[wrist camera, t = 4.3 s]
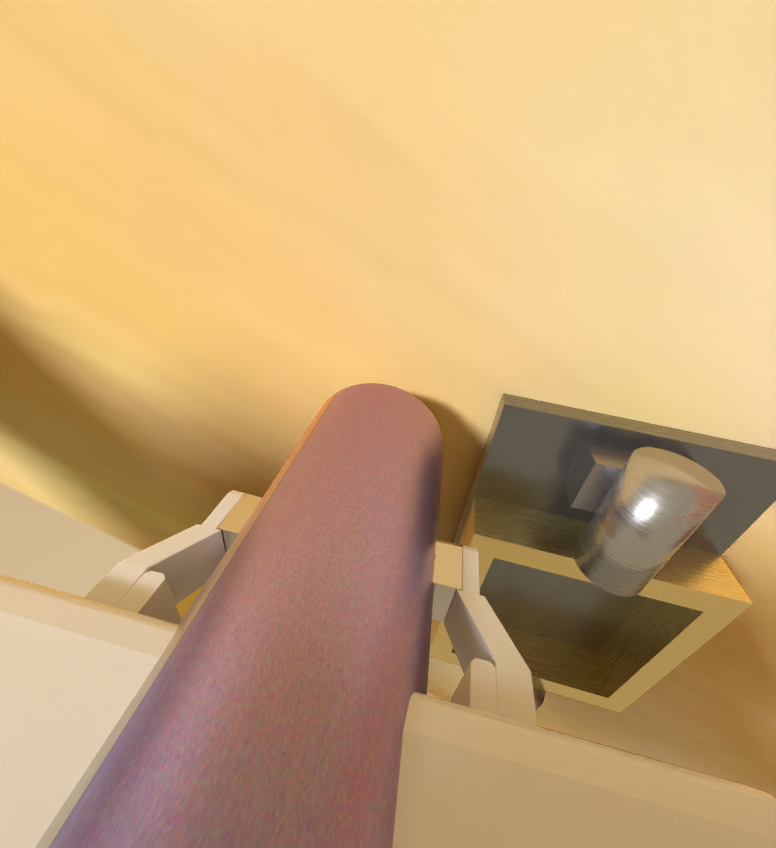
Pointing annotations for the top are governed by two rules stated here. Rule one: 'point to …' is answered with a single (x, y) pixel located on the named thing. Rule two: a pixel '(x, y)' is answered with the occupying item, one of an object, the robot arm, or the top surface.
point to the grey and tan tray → (607, 544)
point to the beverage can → (288, 657)
